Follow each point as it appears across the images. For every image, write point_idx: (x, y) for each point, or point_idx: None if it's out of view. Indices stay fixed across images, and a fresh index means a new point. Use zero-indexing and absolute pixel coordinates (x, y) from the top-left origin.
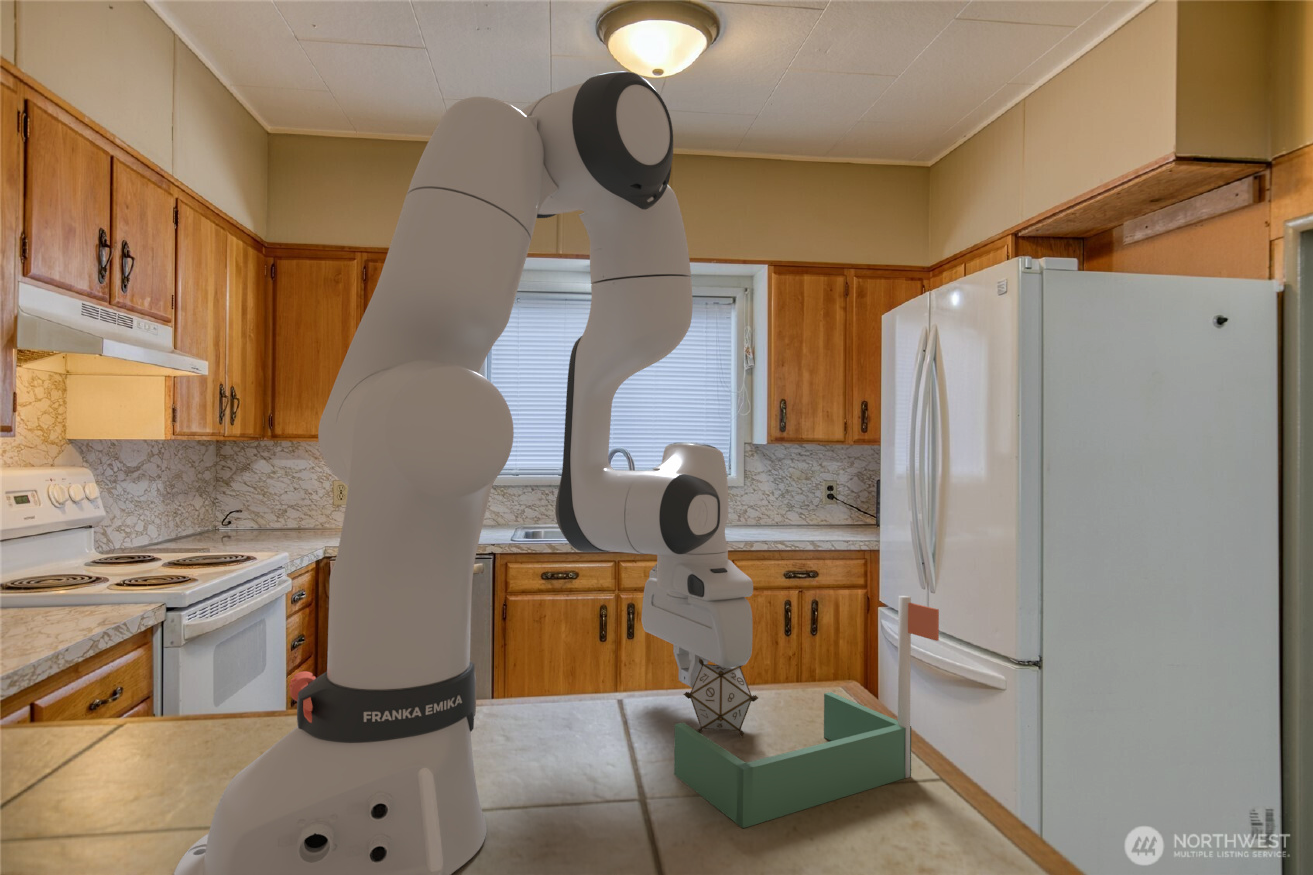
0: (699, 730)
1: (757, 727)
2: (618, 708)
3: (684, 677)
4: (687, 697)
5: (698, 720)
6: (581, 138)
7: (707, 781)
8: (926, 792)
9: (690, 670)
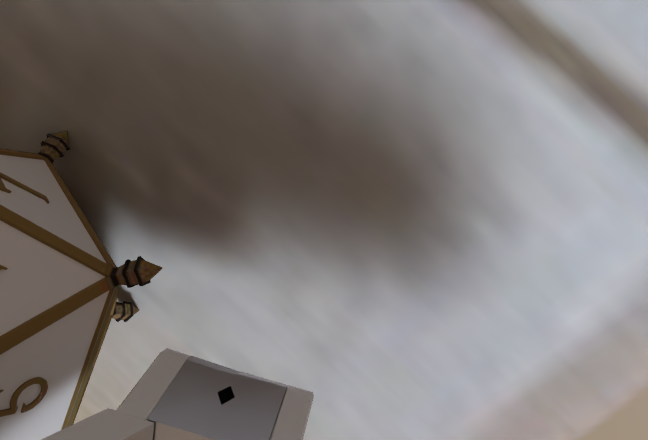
0: (45, 141)
1: None
2: (625, 76)
3: (235, 402)
4: (140, 260)
5: (14, 151)
6: None
7: None
8: None
9: (102, 430)
